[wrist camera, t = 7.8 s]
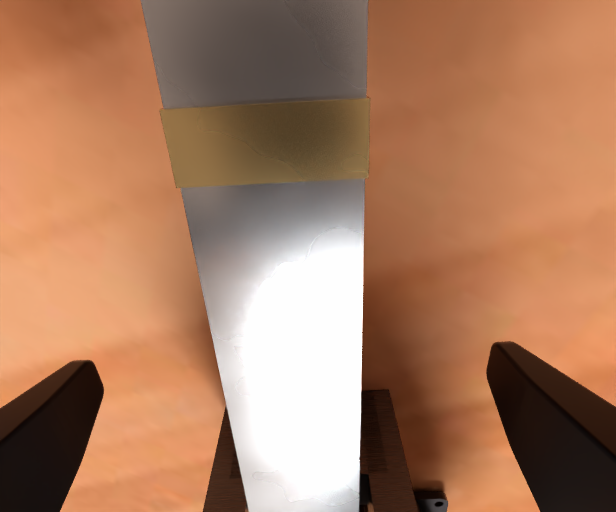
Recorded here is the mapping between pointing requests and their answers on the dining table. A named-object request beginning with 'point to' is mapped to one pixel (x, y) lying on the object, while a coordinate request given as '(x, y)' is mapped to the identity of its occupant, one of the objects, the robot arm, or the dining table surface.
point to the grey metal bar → (276, 225)
